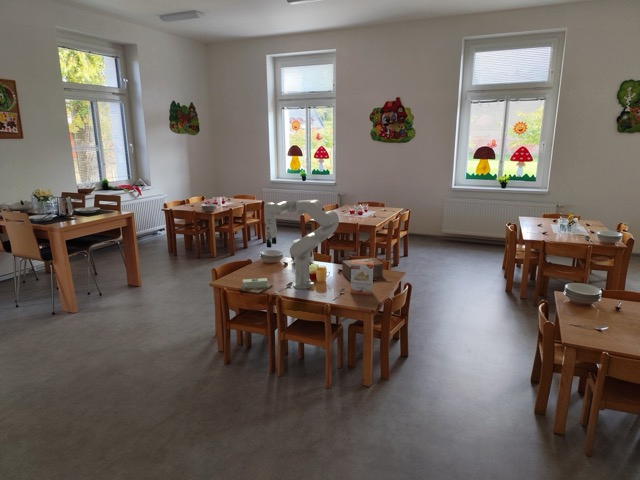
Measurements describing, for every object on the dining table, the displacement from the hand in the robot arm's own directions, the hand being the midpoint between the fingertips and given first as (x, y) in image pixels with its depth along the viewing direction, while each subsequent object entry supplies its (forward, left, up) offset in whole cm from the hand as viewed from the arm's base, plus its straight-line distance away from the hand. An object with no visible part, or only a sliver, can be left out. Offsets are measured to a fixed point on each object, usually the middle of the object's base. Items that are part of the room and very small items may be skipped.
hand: (271, 245), depth 289 cm
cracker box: (-63, -11, -26) cm, 69 cm away
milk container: (+3, -46, -26) cm, 53 cm away
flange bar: (+3, +16, -25) cm, 30 cm away
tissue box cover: (-49, -44, -27) cm, 71 cm away
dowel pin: (+5, +22, -25) cm, 34 cm away
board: (+2, +16, -26) cm, 31 cm away
